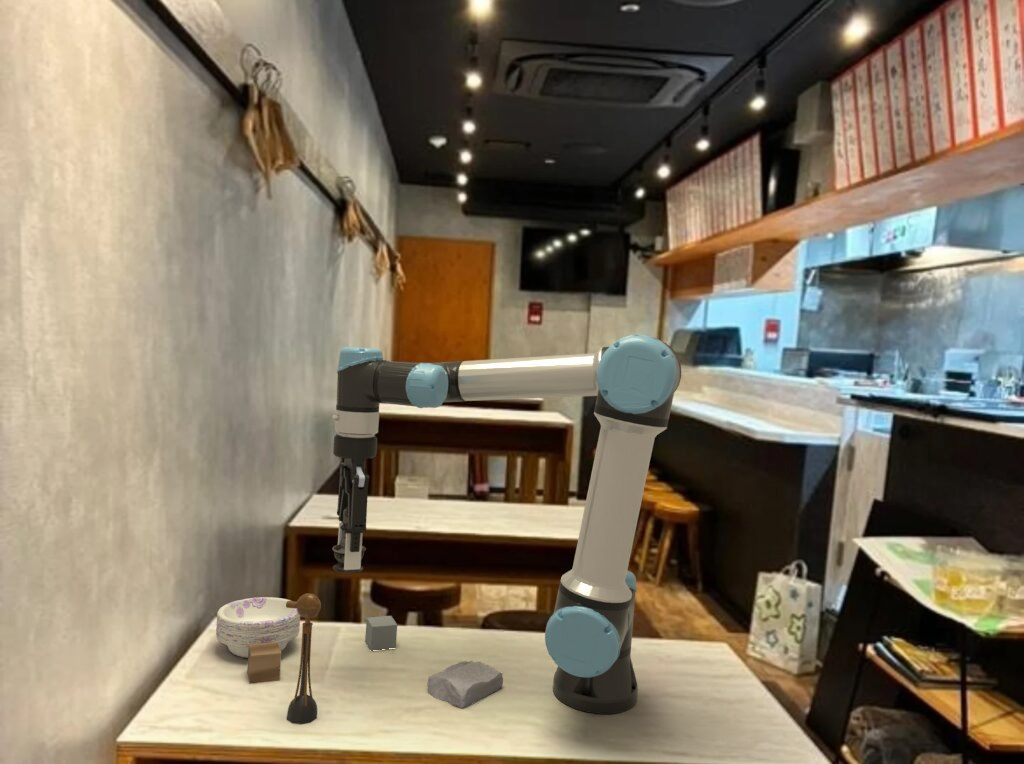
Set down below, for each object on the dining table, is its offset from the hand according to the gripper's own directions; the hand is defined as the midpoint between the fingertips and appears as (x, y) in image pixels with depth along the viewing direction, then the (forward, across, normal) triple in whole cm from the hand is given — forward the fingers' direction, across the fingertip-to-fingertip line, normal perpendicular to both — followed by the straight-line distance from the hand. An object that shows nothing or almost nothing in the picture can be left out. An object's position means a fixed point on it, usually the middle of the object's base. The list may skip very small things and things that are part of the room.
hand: (348, 563), depth 132 cm
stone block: (+21, +10, +20) cm, 31 cm away
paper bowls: (+21, -16, -13) cm, 30 cm away
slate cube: (+21, -12, +10) cm, 26 cm away
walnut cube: (+21, -4, -13) cm, 25 cm away
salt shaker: (+1, 0, 0) cm, 1 cm away
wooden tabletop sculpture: (+21, +12, -9) cm, 26 cm away
